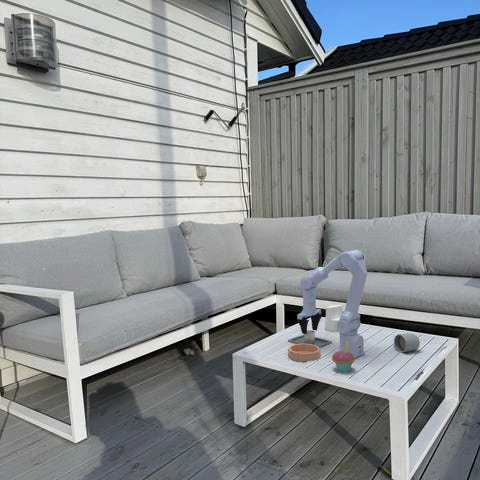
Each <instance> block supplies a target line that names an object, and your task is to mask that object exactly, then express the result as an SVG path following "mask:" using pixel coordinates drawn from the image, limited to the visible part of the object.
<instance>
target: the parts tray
mask: <svg viewBox="0 0 480 480" xmlns="http://www.w3.org/2000/svg"><path fill="white" fill-rule="evenodd" d="M287 342H288V343H291V344H293V345H294V344H301V343H304V344H306V343H305V334H301V335H299V336H296V337H292V338H290V339H287ZM331 344H333V340H328V339H325V338H321V337H316V336H315V343H314V344H313V345H316V346H318V347H319V348H320V349H321V348H324V347H327V346H329V345H331Z"/></svg>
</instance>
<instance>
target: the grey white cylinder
mask: <svg viewBox="0 0 480 480" xmlns="http://www.w3.org/2000/svg"><path fill="white" fill-rule="evenodd" d="M342 313H343V305H342V304H334V305H333V304H332V305H329V306H326V307H325V317H324V319H325V321H324V329H325V331H327V332H330V333H339V331H338V330H337V326H336V324H337V322H338V320H339V319H340V316H341V314H342Z"/></svg>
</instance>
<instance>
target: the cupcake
mask: <svg viewBox="0 0 480 480" xmlns="http://www.w3.org/2000/svg"><path fill="white" fill-rule="evenodd" d="M347 348H348V342H347V343H346V350H345V351H339V350H337V351H338V352H337V351H335V352H334V353H333V354H332V357H331V360H332V362H334V363H335V365H336V369H337V371H338V372H342V373H347V372H349V371H351V368H352V365H353V363H355V360H356V358H355V357H354V355H352V354H351V353H350V352H348V351H347Z"/></svg>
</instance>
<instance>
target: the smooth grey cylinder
mask: <svg viewBox="0 0 480 480" xmlns="http://www.w3.org/2000/svg"><path fill="white" fill-rule="evenodd" d="M315 337H316V331H315V330H312V329H311V330H310V329H309V330H308V329H307V333H306V334H305V343H306V344H314V343H315Z"/></svg>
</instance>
